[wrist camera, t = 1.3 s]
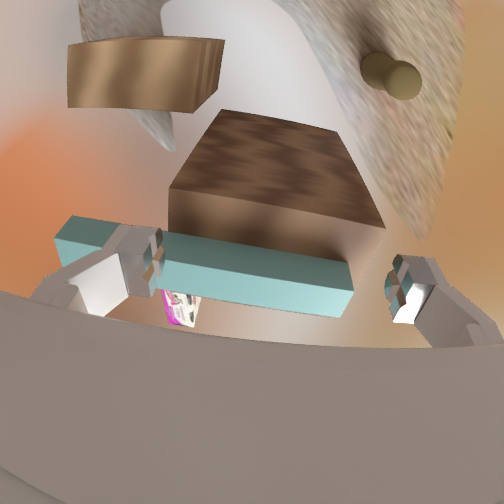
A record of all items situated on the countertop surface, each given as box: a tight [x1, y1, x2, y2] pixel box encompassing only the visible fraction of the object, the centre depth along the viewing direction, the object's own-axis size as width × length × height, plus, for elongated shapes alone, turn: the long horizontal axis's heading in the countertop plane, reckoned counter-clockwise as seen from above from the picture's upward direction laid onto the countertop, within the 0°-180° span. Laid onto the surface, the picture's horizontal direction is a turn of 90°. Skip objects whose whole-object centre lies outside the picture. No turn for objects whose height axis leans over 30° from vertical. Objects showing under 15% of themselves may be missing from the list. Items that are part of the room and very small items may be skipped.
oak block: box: [67, 36, 225, 113], centre depth 33 cm, size 16×8×15 cm, turn 81°
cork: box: [360, 52, 422, 100], centre depth 33 cm, size 6×6×11 cm
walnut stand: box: [168, 109, 386, 318], centre depth 38 cm, size 18×12×26 cm, turn 81°
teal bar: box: [54, 216, 354, 318], centre depth 26 cm, size 26×4×4 cm, turn 81°
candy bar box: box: [161, 289, 201, 327], centre depth 54 cm, size 11×5×16 cm, turn 176°
